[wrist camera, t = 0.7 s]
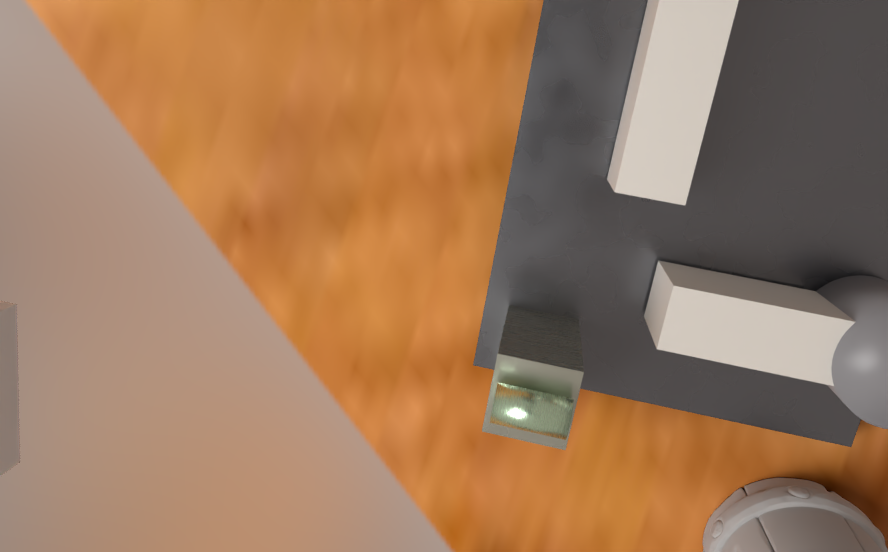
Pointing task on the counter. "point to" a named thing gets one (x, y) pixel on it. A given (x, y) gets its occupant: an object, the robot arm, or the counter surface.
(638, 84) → the lever front
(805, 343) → the lever back
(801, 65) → the level base
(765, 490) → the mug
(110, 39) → the counter surface
